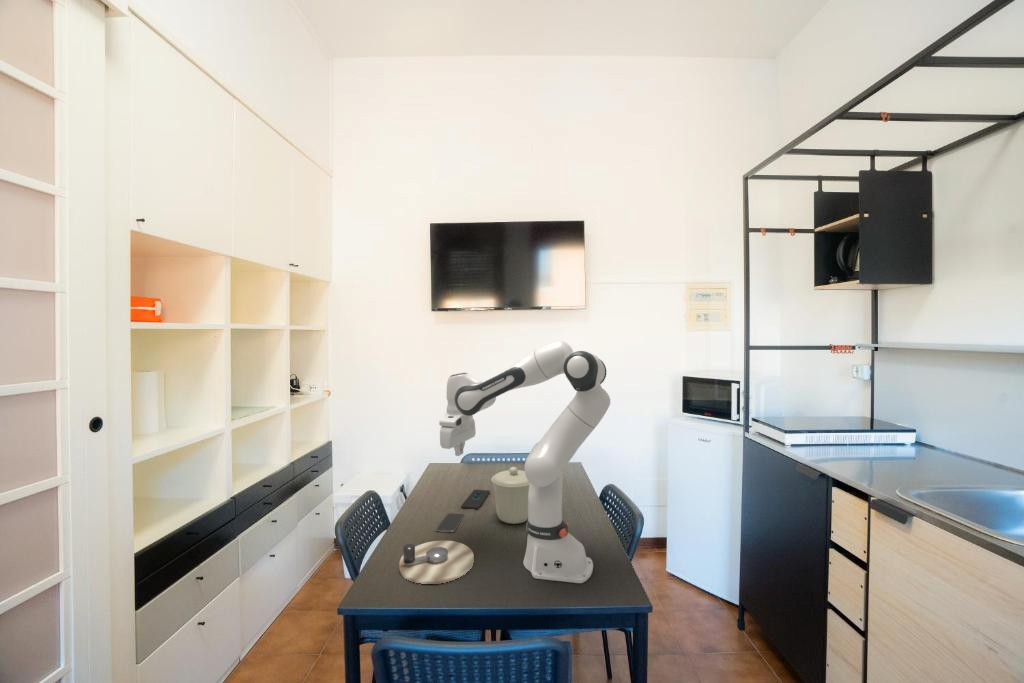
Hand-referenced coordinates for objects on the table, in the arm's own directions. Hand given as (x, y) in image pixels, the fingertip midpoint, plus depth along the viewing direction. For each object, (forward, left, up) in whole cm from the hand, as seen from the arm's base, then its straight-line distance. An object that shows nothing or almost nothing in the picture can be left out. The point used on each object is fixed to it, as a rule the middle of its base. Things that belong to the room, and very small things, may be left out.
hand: (459, 454), depth 152 cm
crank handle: (+2, +20, -29) cm, 35 cm away
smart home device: (+11, -34, -32) cm, 48 cm away
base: (-1, +17, -31) cm, 35 cm away
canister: (-12, -23, -31) cm, 41 cm away
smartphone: (+10, -10, -32) cm, 35 cm away
